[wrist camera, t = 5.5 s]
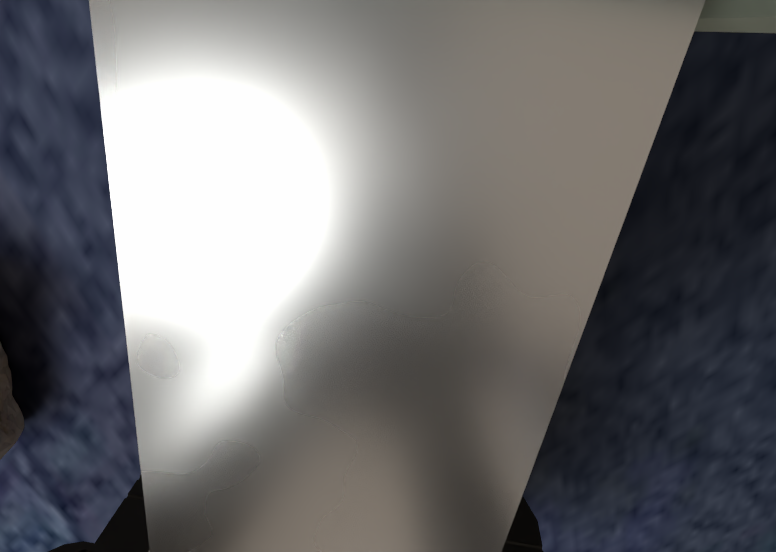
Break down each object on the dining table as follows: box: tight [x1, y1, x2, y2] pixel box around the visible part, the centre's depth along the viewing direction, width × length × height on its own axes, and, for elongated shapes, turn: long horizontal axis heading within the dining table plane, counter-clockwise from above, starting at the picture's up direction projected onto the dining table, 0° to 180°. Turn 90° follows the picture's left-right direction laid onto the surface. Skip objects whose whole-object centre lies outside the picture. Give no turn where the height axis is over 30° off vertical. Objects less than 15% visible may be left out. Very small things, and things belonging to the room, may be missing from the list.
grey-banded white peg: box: [89, 0, 706, 552], centre depth 7 cm, size 18×4×4 cm, turn 172°
